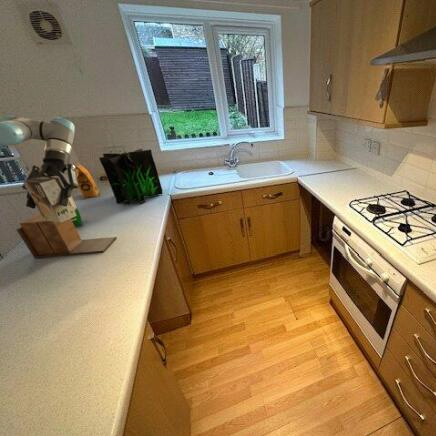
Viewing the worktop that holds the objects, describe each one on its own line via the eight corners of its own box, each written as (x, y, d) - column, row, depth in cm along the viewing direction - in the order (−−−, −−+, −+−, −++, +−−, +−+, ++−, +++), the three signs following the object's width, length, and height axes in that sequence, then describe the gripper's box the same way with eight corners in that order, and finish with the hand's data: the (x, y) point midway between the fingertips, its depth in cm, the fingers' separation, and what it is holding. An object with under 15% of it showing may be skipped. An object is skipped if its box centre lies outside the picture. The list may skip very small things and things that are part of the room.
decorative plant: (105, 202, 160) (87, 157, 146) (143, 187, 185) (130, 147, 171) (138, 207, 152) (122, 160, 138) (172, 191, 177) (162, 149, 163)
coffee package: (81, 199, 165) (66, 168, 155) (83, 193, 175) (70, 164, 164) (98, 196, 170) (85, 165, 159) (100, 191, 179) (88, 162, 169)
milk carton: (63, 230, 127) (45, 195, 118) (63, 224, 133) (46, 190, 124) (84, 225, 132) (68, 191, 123) (83, 219, 138) (68, 186, 129)
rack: (34, 258, 105) (13, 225, 97) (54, 243, 116) (36, 212, 108) (103, 252, 109) (88, 219, 101) (116, 238, 119) (103, 207, 111)
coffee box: (77, 215, 96) (59, 177, 89) (60, 223, 91) (39, 183, 83) (60, 213, 98) (41, 175, 91) (43, 220, 93) (20, 181, 85)
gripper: (94, 157, 100) (87, 207, 94) (34, 160, 98) (22, 211, 91) (81, 147, 93) (72, 200, 87) (15, 150, 90) (1, 204, 84)
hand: (47, 206), depth 89 cm, fingers closed on coffee box, 10 cm apart
